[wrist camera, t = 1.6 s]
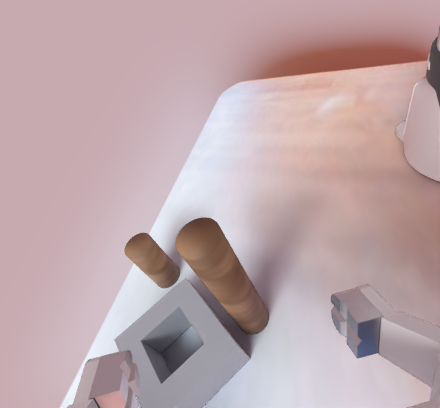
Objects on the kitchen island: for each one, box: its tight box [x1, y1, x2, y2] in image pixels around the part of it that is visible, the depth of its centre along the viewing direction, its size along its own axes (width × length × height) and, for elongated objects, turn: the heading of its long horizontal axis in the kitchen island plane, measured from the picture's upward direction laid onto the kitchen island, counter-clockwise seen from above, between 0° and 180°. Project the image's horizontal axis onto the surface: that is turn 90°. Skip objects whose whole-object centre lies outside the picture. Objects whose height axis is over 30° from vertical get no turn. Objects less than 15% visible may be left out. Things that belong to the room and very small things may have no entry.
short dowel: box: [125, 233, 180, 288], centre depth 37 cm, size 4×4×8 cm
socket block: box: [115, 278, 250, 408], centre depth 30 cm, size 10×10×4 cm
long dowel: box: [176, 218, 269, 334], centre depth 27 cm, size 4×4×16 cm
